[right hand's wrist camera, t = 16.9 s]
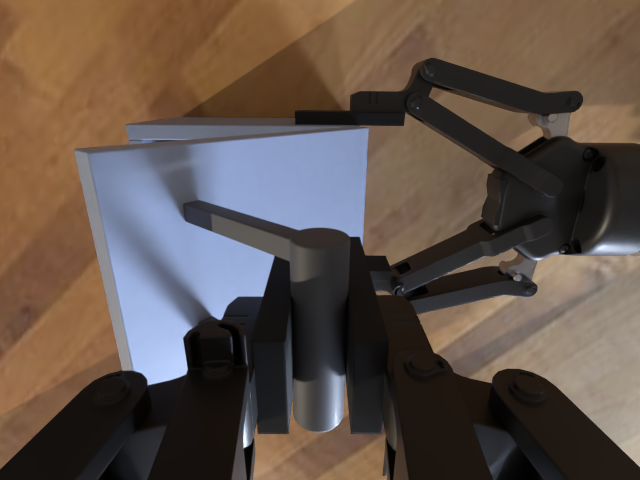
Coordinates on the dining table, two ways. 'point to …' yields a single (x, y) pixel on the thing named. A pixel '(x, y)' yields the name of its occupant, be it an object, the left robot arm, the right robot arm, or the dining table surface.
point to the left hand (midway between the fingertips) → (297, 197)
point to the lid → (230, 245)
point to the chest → (212, 128)
